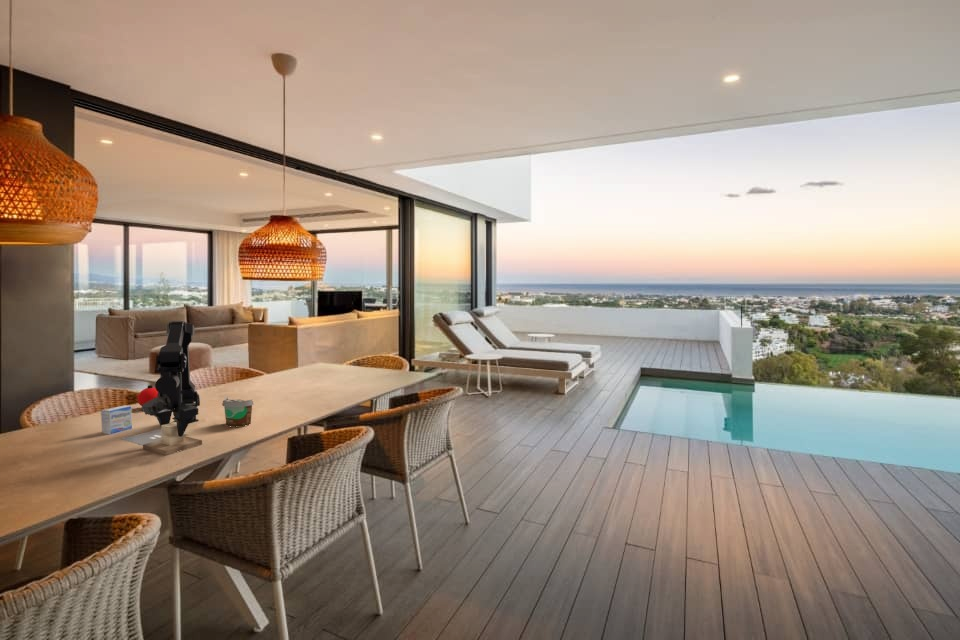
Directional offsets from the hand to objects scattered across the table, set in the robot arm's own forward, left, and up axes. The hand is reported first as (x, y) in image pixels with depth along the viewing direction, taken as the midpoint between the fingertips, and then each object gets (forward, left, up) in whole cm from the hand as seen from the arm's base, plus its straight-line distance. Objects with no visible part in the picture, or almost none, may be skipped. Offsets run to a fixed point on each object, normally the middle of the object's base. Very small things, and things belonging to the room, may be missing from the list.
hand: (172, 434), depth 160 cm
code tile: (-3, -15, -4) cm, 16 cm away
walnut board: (0, 0, -4) cm, 4 cm away
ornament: (-26, -57, -4) cm, 63 cm away
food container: (-26, -4, -4) cm, 27 cm away
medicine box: (-1, -34, -4) cm, 34 cm away
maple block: (0, 0, -3) cm, 3 cm away
